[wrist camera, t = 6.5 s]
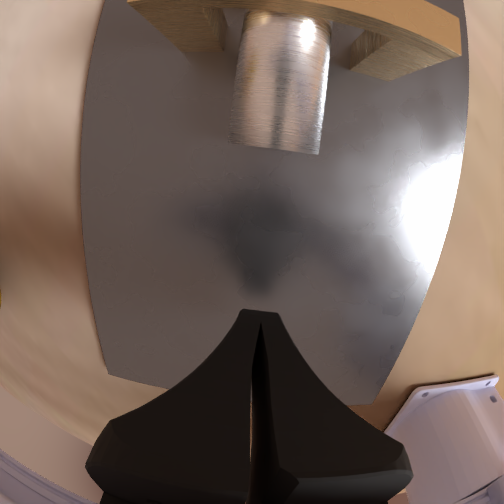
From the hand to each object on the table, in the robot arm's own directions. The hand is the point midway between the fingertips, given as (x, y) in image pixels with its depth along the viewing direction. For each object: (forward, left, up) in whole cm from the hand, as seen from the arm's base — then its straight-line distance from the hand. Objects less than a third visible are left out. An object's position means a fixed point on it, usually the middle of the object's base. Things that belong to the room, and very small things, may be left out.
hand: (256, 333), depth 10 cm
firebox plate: (0, -6, -3) cm, 6 cm away
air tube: (0, -13, -2) cm, 13 cm away
